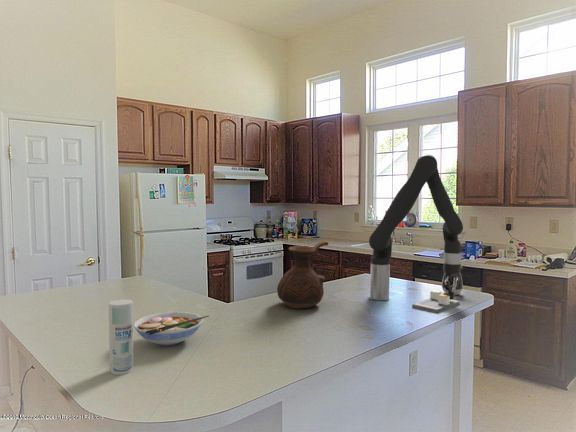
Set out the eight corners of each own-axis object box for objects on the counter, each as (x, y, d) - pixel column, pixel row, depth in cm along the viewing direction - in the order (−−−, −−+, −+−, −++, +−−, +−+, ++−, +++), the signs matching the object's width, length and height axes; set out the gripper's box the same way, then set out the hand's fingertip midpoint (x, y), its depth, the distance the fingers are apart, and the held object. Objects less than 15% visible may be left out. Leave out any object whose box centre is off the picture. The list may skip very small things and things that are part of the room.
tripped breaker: (446, 305, 190) (446, 296, 190) (437, 303, 193) (438, 295, 193) (449, 303, 192) (449, 295, 192) (441, 302, 195) (441, 294, 195)
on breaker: (438, 299, 200) (438, 292, 199) (430, 298, 203) (430, 291, 202) (441, 298, 202) (441, 291, 201) (433, 297, 205) (433, 290, 204)
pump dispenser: (466, 296, 213) (467, 266, 213) (445, 296, 214) (446, 266, 213) (458, 292, 224) (459, 263, 223) (438, 291, 224) (439, 263, 223)
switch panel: (436, 313, 184) (437, 309, 184) (412, 307, 192) (412, 304, 192) (459, 304, 199) (459, 301, 199) (435, 299, 207) (435, 296, 207)
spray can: (112, 376, 118) (111, 306, 117) (107, 369, 123) (106, 301, 122) (136, 371, 122) (135, 302, 121) (130, 363, 127) (129, 298, 126)
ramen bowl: (179, 326, 163) (178, 305, 162) (218, 340, 148) (218, 317, 148) (117, 344, 144) (117, 320, 143) (156, 361, 129) (156, 335, 129)
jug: (306, 314, 180) (307, 244, 178) (267, 306, 193) (268, 240, 191) (333, 304, 197) (334, 240, 195) (295, 296, 210) (296, 236, 208)
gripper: (453, 264, 189) (452, 303, 190) (466, 261, 198) (465, 298, 199) (437, 262, 195) (436, 300, 196) (450, 259, 204) (450, 295, 205)
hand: (451, 299), depth 197 cm, fingers closed
